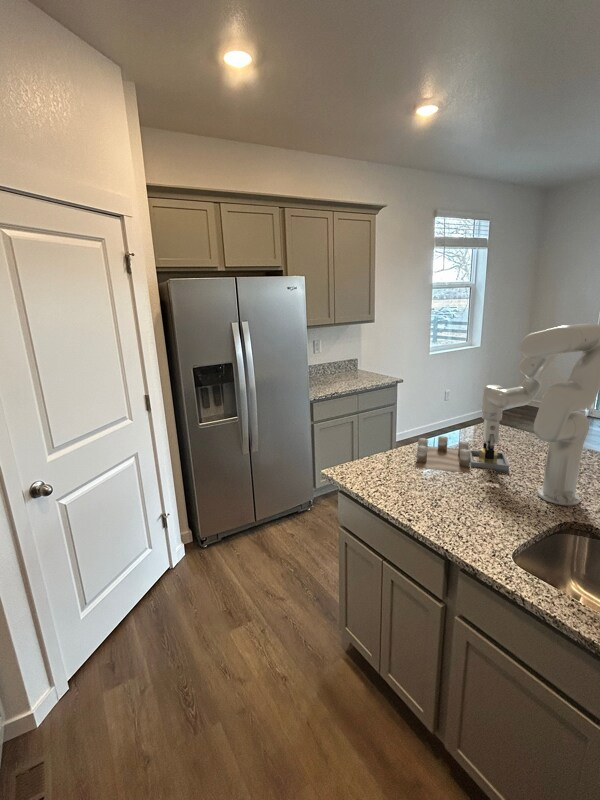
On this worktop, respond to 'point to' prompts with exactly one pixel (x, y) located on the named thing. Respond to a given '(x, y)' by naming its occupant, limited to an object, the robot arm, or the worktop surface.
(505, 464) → the tray
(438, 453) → the board
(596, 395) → the robot arm
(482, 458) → the faceted yellow gem
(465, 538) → the worktop surface
